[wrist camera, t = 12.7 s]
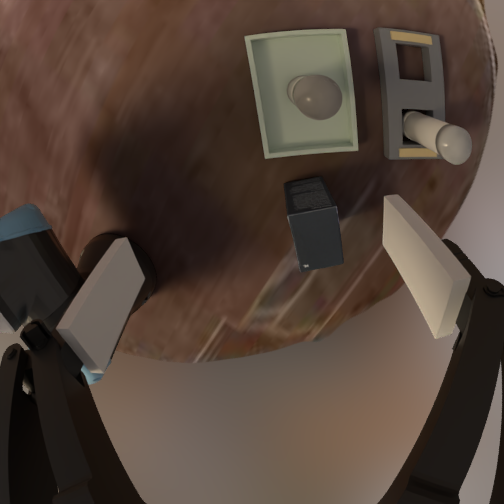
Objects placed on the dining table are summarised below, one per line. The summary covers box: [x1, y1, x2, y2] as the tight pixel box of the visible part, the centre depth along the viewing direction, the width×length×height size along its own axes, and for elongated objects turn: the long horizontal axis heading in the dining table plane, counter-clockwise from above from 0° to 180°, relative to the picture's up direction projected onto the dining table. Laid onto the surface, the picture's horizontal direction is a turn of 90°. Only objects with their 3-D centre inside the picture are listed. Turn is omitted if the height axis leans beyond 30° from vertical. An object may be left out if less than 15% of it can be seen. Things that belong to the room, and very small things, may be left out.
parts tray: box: [244, 29, 358, 159], centre depth 32 cm, size 16×12×2 cm
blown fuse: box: [287, 75, 342, 120], centre depth 27 cm, size 4×4×12 cm
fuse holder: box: [373, 27, 445, 160], centre depth 30 cm, size 18×9×2 cm, turn 9°
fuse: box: [402, 110, 472, 165], centre depth 29 cm, size 4×4×12 cm
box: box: [284, 176, 344, 272], centre depth 37 cm, size 8×6×11 cm
